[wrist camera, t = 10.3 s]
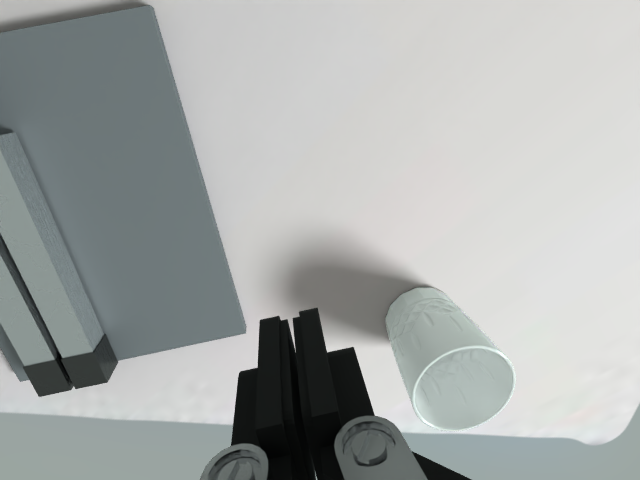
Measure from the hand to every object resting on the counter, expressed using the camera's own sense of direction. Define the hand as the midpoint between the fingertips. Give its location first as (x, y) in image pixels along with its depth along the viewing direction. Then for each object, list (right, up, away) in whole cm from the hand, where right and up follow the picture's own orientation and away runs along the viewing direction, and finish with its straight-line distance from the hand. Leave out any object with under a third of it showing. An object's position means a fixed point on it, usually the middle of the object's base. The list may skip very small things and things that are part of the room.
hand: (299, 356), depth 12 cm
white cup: (+10, -4, +28) cm, 30 cm away
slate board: (-18, +5, +21) cm, 28 cm away
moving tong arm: (-22, +4, +20) cm, 29 cm away
